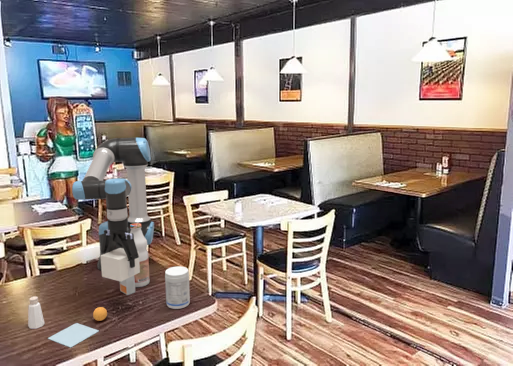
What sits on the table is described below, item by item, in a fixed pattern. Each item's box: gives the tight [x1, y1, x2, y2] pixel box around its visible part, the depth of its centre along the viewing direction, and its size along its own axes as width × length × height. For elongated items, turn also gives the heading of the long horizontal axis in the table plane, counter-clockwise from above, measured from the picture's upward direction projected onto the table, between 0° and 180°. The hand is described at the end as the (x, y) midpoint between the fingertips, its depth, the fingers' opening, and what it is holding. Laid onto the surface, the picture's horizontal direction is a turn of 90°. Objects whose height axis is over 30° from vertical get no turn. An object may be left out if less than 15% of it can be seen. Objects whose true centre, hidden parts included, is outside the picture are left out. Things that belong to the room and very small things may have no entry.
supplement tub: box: [164, 265, 191, 310], centre depth 172 cm, size 10×10×15 cm
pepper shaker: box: [27, 295, 45, 330], centre depth 156 cm, size 5×5×11 cm
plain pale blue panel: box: [47, 322, 100, 349], centre depth 151 cm, size 12×12×1 cm
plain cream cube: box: [99, 248, 140, 283], centre depth 168 cm, size 10×10×9 cm
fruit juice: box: [130, 223, 151, 288], centre depth 191 cm, size 9×9×28 cm
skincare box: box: [119, 276, 136, 296], centre depth 184 cm, size 6×4×12 cm
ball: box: [92, 306, 108, 322], centre depth 160 cm, size 5×5×5 cm
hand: (121, 272), depth 169 cm, fingers closed on plain cream cube, 10 cm apart
